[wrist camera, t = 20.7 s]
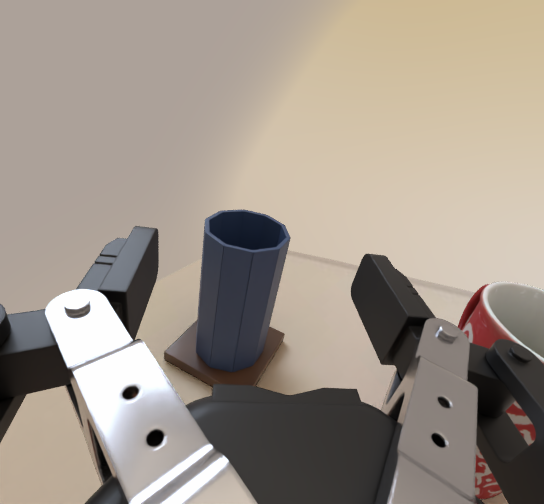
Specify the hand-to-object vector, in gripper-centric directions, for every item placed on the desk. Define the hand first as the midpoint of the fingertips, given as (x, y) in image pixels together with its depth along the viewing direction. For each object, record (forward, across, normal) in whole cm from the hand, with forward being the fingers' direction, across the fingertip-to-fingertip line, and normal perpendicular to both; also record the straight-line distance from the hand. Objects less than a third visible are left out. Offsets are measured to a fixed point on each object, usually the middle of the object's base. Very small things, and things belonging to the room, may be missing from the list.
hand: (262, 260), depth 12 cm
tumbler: (+10, 0, +16) cm, 19 cm away
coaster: (+10, 0, +17) cm, 20 cm away
